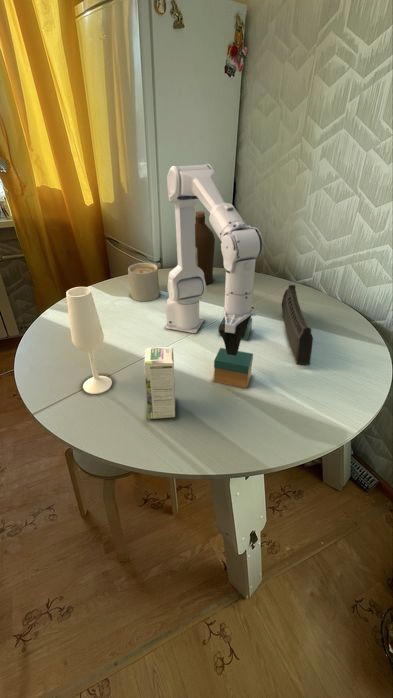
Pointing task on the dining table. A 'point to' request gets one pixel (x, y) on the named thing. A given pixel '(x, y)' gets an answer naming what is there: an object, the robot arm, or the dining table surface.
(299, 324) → the magazine
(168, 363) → the syrup box
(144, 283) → the coffee mug
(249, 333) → the dark green block
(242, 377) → the orange brown block
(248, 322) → the dark green block
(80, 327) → the champagne flute
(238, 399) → the dining table surface
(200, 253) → the olive oil
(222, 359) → the dark teal flat block
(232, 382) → the brown wooden block
